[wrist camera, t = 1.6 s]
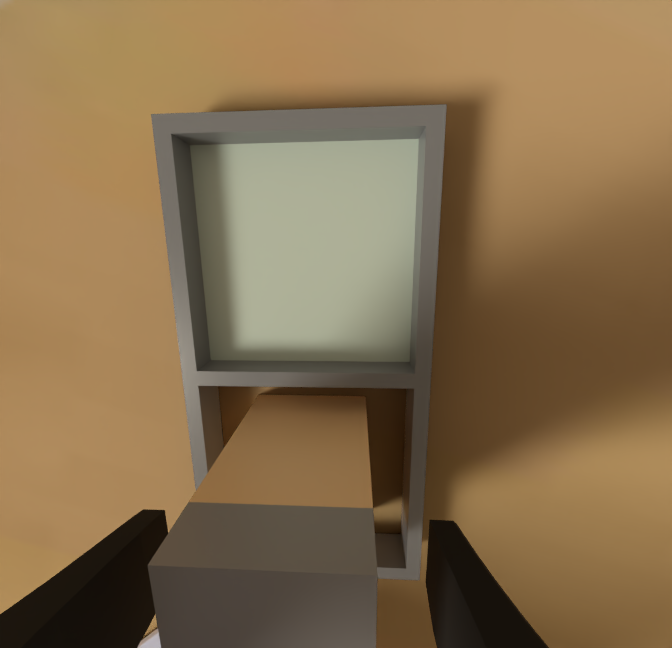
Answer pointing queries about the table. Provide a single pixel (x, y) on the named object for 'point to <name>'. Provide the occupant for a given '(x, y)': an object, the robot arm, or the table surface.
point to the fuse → (276, 535)
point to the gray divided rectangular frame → (307, 266)
